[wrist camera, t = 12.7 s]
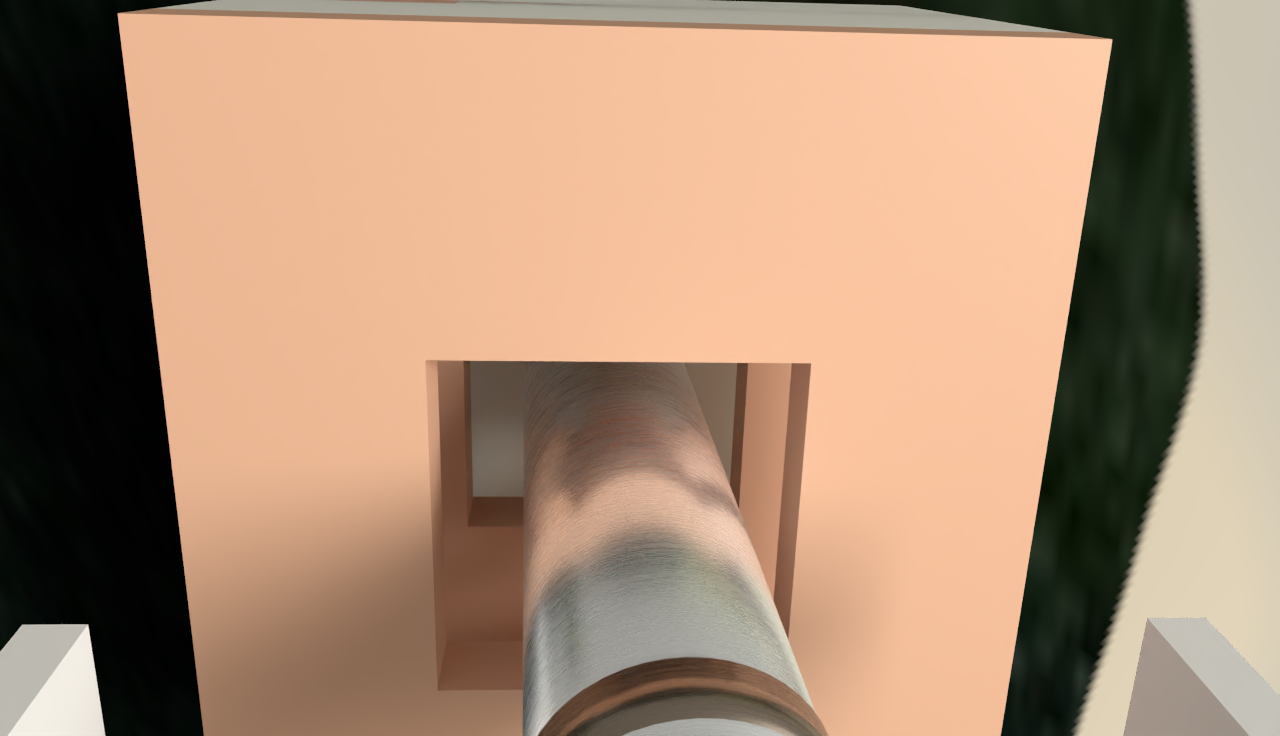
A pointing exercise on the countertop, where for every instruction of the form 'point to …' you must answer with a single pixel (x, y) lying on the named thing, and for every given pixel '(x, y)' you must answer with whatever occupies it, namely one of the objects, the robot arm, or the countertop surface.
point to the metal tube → (642, 568)
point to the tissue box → (601, 325)
